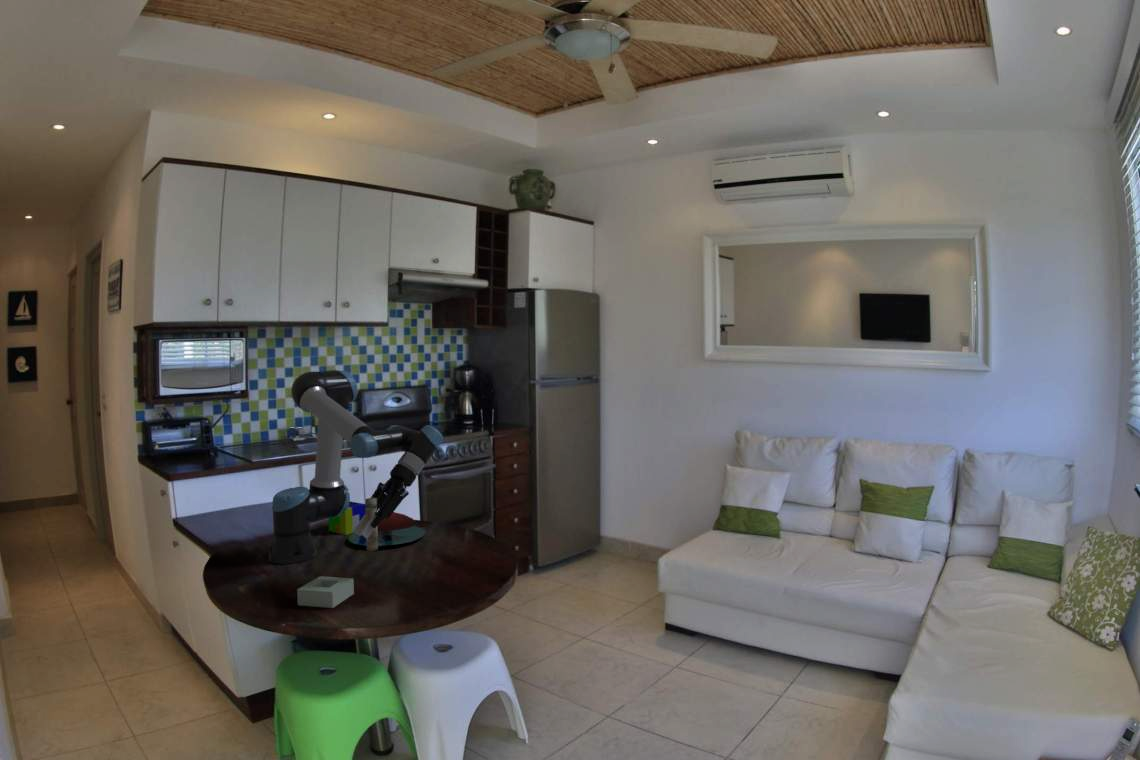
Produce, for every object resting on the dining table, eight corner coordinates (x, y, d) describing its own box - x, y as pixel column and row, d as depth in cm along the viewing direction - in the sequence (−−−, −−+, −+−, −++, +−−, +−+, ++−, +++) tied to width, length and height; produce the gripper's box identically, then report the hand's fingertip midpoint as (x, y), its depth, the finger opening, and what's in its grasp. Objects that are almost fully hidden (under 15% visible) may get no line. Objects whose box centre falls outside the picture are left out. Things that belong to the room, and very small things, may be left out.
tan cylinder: (364, 550, 199) (363, 500, 198) (370, 547, 202) (368, 497, 201) (374, 551, 198) (373, 500, 198) (380, 547, 202) (378, 498, 201)
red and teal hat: (352, 554, 236) (351, 523, 236) (345, 534, 262) (344, 506, 261) (432, 544, 247) (431, 514, 247) (417, 525, 273) (417, 498, 272)
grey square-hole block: (297, 605, 190) (297, 589, 190) (320, 591, 201) (319, 576, 201) (332, 608, 188) (332, 592, 188) (353, 593, 199) (353, 578, 198)
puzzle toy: (366, 528, 270) (365, 504, 269) (345, 535, 261) (345, 509, 261) (349, 525, 275) (348, 501, 275) (329, 531, 267) (328, 506, 266)
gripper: (430, 480, 205) (383, 547, 194) (399, 473, 216) (353, 536, 205) (415, 465, 201) (367, 532, 190) (384, 459, 212) (337, 522, 200)
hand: (360, 534), depth 197 cm, fingers closed on tan cylinder, 3 cm apart
